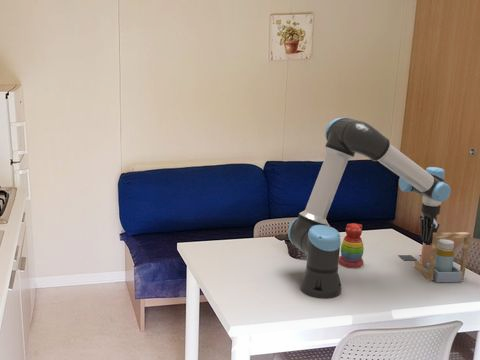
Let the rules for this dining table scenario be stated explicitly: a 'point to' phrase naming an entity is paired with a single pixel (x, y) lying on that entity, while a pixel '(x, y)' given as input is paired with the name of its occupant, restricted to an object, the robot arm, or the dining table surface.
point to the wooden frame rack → (430, 272)
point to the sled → (438, 276)
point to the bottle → (444, 255)
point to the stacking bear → (352, 247)
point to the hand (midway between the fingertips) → (425, 256)
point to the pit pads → (407, 257)
